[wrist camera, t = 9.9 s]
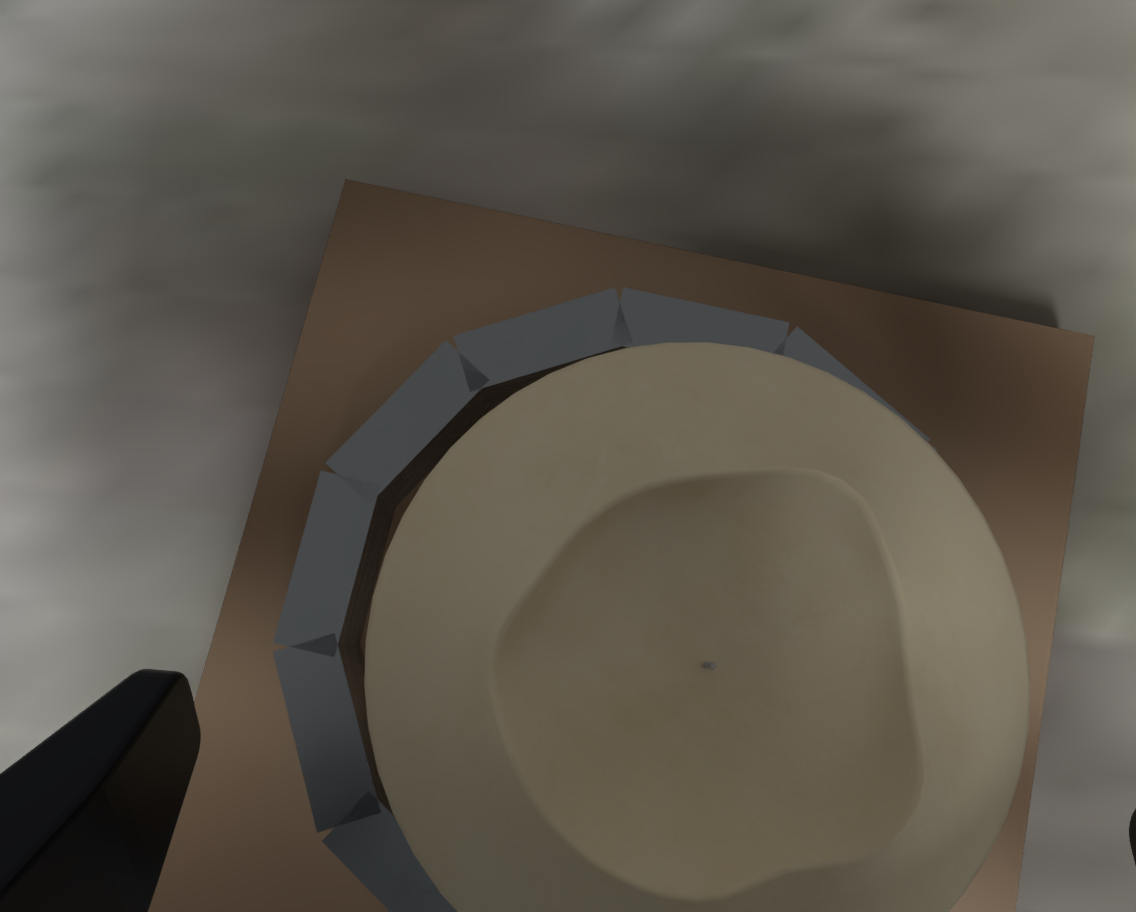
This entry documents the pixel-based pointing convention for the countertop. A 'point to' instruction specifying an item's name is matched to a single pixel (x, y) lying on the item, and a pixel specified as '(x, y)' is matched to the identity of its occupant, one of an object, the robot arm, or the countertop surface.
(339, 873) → the dock
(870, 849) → the candle
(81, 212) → the countertop surface
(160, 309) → the countertop surface
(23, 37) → the countertop surface
